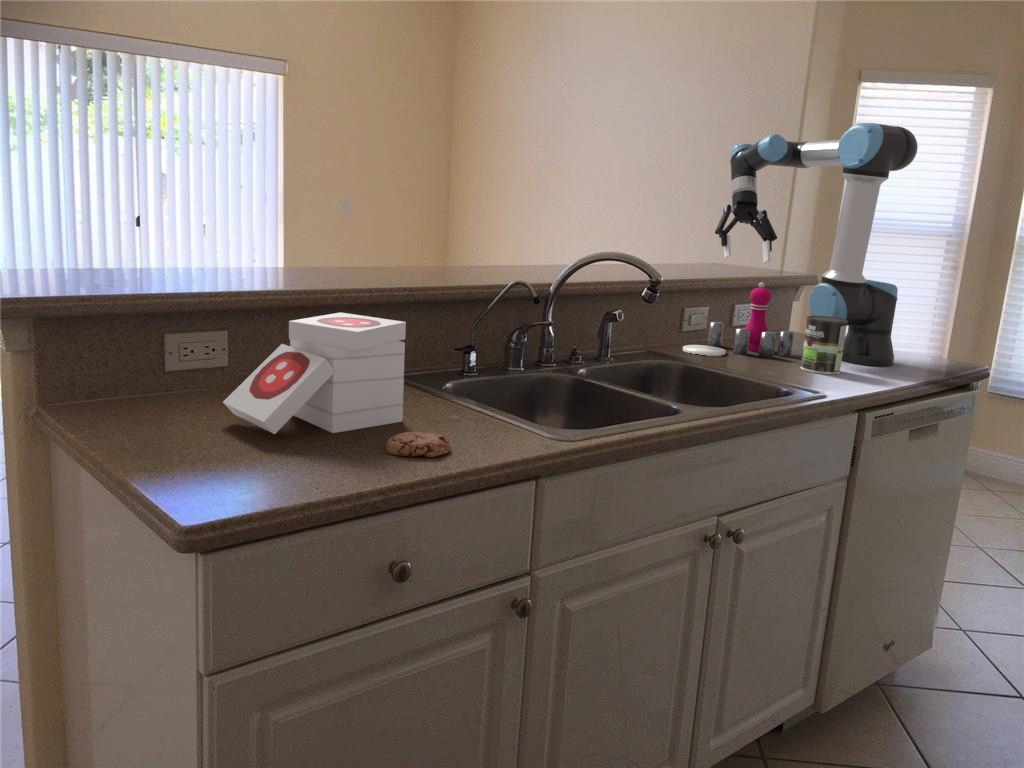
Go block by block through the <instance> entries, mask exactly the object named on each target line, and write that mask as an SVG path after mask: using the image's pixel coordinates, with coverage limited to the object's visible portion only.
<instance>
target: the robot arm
mask: <svg viewBox="0 0 1024 768" xmlns="http://www.w3.org/2000/svg"><path fill="white" fill-rule="evenodd" d="M918 148H919V147H918V141H917V138H916V136H915V135H914V134H913V132H911V130H909V129H908V128H905V127H902V126H898V125H897V126H896V125H888V124H880V123H877V122H876V123H875V122H862V123H861V122H860V123H856V124H854V125H852V126H850V127H849V128H848V130H845V132H844V133H843V134H842V136H841V137H840V139H828V140H827V139H826V140H816V141H815V140H814V141H813V140H811V141H810V140H809V141H789V140H788V141H787V140H786V139H785V137H783V136H781V135H780V134H778V133H773V134H772V133H771V134H770V135H768V136H765V137H763V138H762V139H761V140H759V141H757V142H755V143H754V144H751V143H740V144H736V145H735V146H733V147H732V149H730V150H731V151H730V161H729V162H730V175H731V176H730V177H731V178H730V180H731V194H732V196H731V200H732V201H731V203H732V205H731V204H727V205H725V206H724V207H723V209H722V210H723V214H722V215H721V218H720V220H719V222H718V224H717V226H716V229H715V231H714V233H715V235H718V237H719V238H720V241H721V243H720V244H721V247H723V259H728V258H729V257H731V256H732V251H731V250H732V249H731V248H732V245H731V243H732V242H731V235H730V234H729V233H730V231H731V230H732V229H733V228H734V227H735V226H736V224H737V223H738V222H739V224H745V225H750V226H751V227H752V228H754V230H755V231H756V232H757V234H758V236H760V238H761V239H762V241H763V242H762V245H761V247H762V263H763V264H767V263H768V262H770V261H771V252H772V250H773V248H772V247H773V246H772V245H773V243H772V242H774V241H776V240H778V235H777V234H776V231H775V230H774V228H773V226H772V223H771V221H770V220H769V217H768V213H767V212H768V211H767V210H766V209H763V210H758V184H757V183H758V182H757V172H758V171H760V170H762V169H764V168H766V167H767V166H775V167H789V168H797V169H808V168H813V167H814V168H816V167H817V168H819V167H820V168H821V167H843V168H842V173H841V175H842V176H843V178H844V180H846V183H845V188H844V192H843V198H842V202H841V208H840V214H839V217H838V218H839V219H838V224H837V230H836V232H835V233H836V234H835V239H834V243H833V247H832V248H833V249H832V255H831V259H830V265H829V269H828V270H826V271H825V272H824V273H822V275H821V279H820V280H821V281H820V283H819V284H817V285H815V286H814V288H812V289H811V290H810V293H809V296H808V309H809V312H810V314H811V316H829V317H836V318H841V319H845V320H847V321H848V324H847V327H848V328H847V331H846V334H845V341H844V347H843V354H842V361H843V362H844V361H845V362H848V363H852V364H858V365H865V366H873V367H874V366H876V367H889V366H893V365H894V363H895V354H894V348H893V342H892V331H893V325H894V320H895V312H896V306H897V301H898V287H897V286H896V284H893V283H890V282H885V281H878V280H874V279H873V280H872V279H867V278H866V277H865V276H864V275H863V271H864V267H865V261H866V257H867V252H868V247H869V242H870V238H871V232H872V227H873V224H874V218H875V213H876V208H877V204H878V199H879V195H880V194H879V193H880V189H881V185H882V184H883V183H884V182H886V181H887V180H889V176H890V172H896V171H900V170H903V169H905V168H906V167H908V166H909V165H911V163H912V162H913V161H914V159H915V158H916V156H917V153H918ZM731 213H732V214H733V215H734V217H732V219H731V220H730V222H729V223H728V225H727V226H726V223H727V222H728V219H729V217H730V215H731Z"/></svg>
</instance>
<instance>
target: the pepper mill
mask: <svg viewBox="0 0 1024 768" xmlns="http://www.w3.org/2000/svg"><path fill="white" fill-rule="evenodd" d="M765 286H766V284H765V282H763V281H761V282H759V283H758V287H755V288H753V289H752V290H751V291H750V295H749V299H750V302H751V303H750V307H749V308H750V309H751V314H750V318H749V320H748V322H747V324H746V325H745V327H744V329H749V330H750V336H749V344H748V352H750V351H751V352H758V353H759V349H760V341H761V332H762V331H768V332H769V330H768V326H767V323H766V313H767V310H768V307H769V304H768V303H769V302H771V299H772V293H771V291H770V290H769V289H767V288H765Z"/></svg>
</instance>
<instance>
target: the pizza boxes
mask: <svg viewBox="0 0 1024 768" xmlns="http://www.w3.org/2000/svg"><path fill="white" fill-rule="evenodd" d="M406 325H407V322H406V321H403V320H402V321H401V320H396V319H395V320H394V319H389V318H388V319H387V318H381V317H373V316H369V315H360V314H354V313H348V312H347V313H346V312H335V313H330V314H323V315H318V316H317V315H316V316H311V317H305V318H299V319H293V320H289V321H288V339H289V345H287V344H284V343H281V344H280V345H279V346H278V347H276V349H275V350H274V351H273V352H272V353H270V355H269V356H268V357H267V358H266V359H265V360H264V361H262V363H261V364H259V366H258V367H257V368H256V369H255V370H253V372H251V373H250V375H248V377H246V379H244V380H243V382H242V383H240V385H238V386H237V388H236V389H234V390H233V391H232V392H231V393H230V394H229V395H228V396H227V397H226V398H225V399H224V400H223V401H222V403H223V405H225V406H226V407H227V409H228V410H229V411H230V412H231V414H233V415H234V416H237V417H239V418H241V419H243V420H245V421H246V422H249V423H251V424H253V425H255V426H257V427H259V428H261V429H264V430H265V431H268V432H270V433H272V434H273V435H275V434H277V433H278V432H279V430H281V428H282V427H284V425H285V424H287V422H288V421H289V420H290V419H291V418H292V417H295V418H299V419H301V420H303V421H305V422H307V423H309V424H311V425H314V426H316V427H318V428H321V429H323V430H325V431H326V432H330V433H331V434H335V433H340V432H348V431H354V430H358V429H365V428H370V427H371V428H372V427H378V426H383V425H389V424H395V423H396V424H397V423H400V422H403V417H404V415H403V414H404V413H403V409H404V385H405V381H404V380H405V353H406V352H405V351H406V350H405V349H406V343H405V342H404V341H402V340H406V332H407V331H406V329H407V328H406V327H407V326H406Z"/></svg>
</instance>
